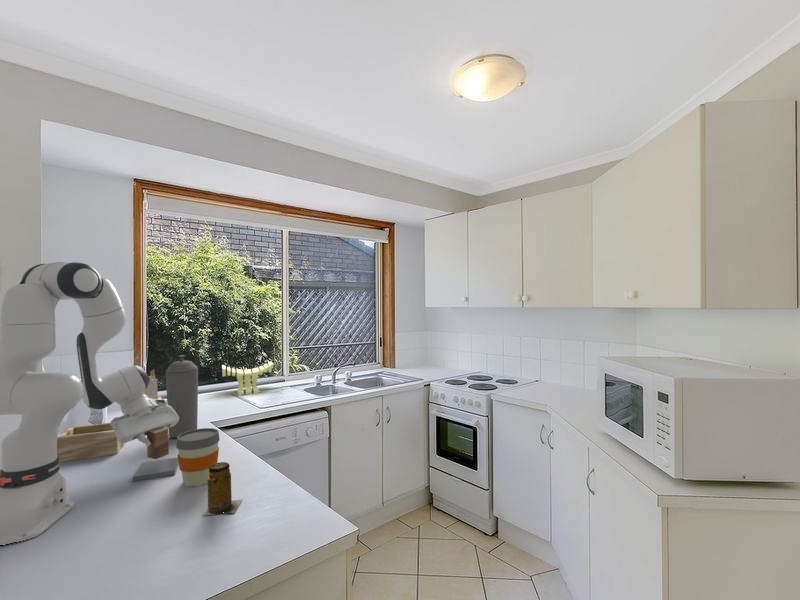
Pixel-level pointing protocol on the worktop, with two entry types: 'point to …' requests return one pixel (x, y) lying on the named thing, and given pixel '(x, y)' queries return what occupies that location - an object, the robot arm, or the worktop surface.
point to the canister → (183, 395)
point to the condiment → (220, 490)
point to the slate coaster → (156, 469)
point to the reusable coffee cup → (197, 454)
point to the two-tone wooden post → (152, 387)
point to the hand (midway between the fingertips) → (159, 442)
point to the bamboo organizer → (87, 442)
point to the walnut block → (158, 443)
